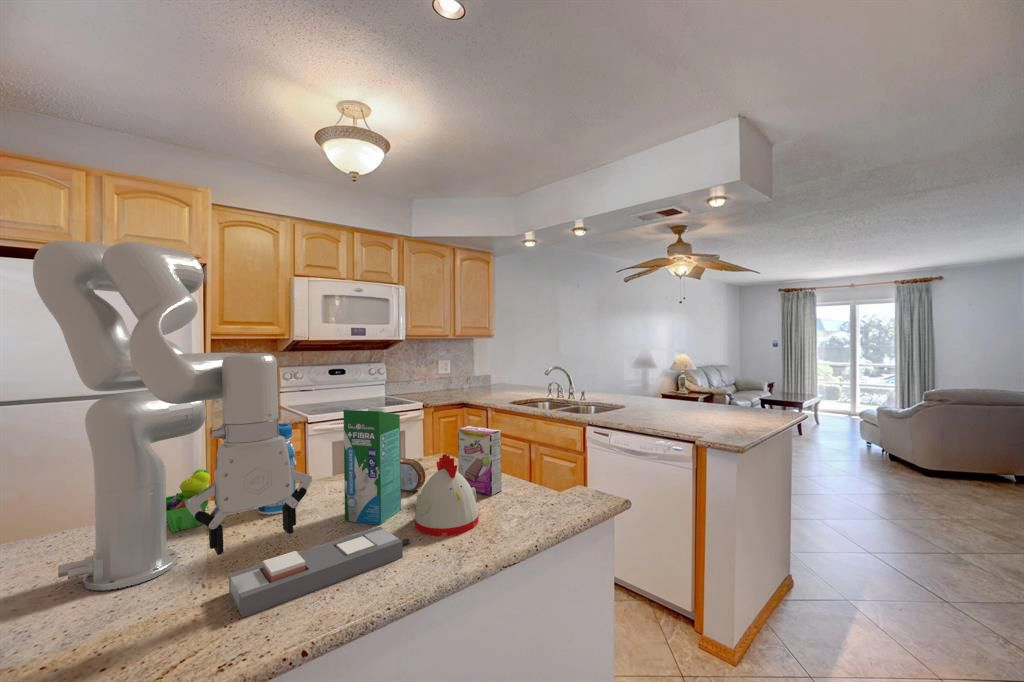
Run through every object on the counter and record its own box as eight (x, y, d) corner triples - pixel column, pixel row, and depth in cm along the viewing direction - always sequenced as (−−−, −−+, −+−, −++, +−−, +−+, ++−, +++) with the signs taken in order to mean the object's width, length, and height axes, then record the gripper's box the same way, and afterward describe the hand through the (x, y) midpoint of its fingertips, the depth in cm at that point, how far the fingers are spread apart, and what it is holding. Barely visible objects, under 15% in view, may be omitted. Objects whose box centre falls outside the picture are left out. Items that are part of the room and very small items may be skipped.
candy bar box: (457, 489, 119) (456, 428, 119) (468, 484, 123) (468, 425, 123) (491, 497, 113) (491, 432, 113) (502, 491, 118) (501, 429, 117)
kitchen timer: (432, 542, 88) (431, 467, 88) (404, 520, 100) (403, 453, 99) (490, 524, 97) (489, 456, 97) (459, 505, 108) (458, 444, 108)
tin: (426, 491, 119) (425, 459, 118) (419, 494, 116) (419, 462, 116) (380, 484, 124) (380, 454, 124) (373, 488, 121) (372, 457, 121)
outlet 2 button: (347, 565, 77) (347, 554, 77) (336, 555, 81) (336, 544, 81) (374, 555, 81) (374, 544, 81) (362, 546, 84) (362, 536, 84)
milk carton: (401, 509, 105) (399, 404, 105) (380, 525, 97) (378, 410, 97) (368, 506, 108) (366, 403, 108) (344, 521, 99) (342, 409, 99)
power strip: (241, 618, 65) (241, 597, 65) (228, 592, 71) (228, 574, 71) (421, 550, 85) (421, 534, 85) (398, 535, 92) (398, 520, 92)
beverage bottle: (278, 517, 102) (277, 430, 102) (248, 514, 104) (247, 428, 104) (304, 504, 110) (303, 423, 110) (276, 501, 112) (275, 421, 112)
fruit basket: (158, 520, 101) (157, 471, 101) (205, 509, 107) (204, 463, 107) (165, 536, 93) (165, 482, 93) (216, 523, 99) (215, 472, 99)
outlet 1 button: (271, 585, 69) (271, 572, 69) (263, 573, 73) (263, 560, 73) (305, 573, 73) (305, 561, 73) (295, 562, 76) (295, 550, 76)
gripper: (187, 445, 61) (190, 570, 61) (317, 426, 73) (320, 531, 73) (180, 437, 67) (183, 552, 67) (302, 421, 78) (304, 518, 78)
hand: (255, 541), depth 70 cm, fingers open, 9 cm apart
